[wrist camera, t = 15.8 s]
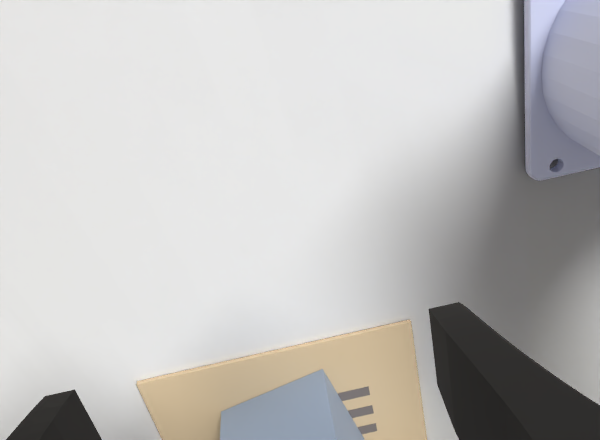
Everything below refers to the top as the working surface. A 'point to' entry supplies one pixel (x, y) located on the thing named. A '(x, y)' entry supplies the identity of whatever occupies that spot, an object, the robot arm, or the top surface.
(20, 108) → the top surface
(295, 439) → the powder blue cube
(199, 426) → the letter card
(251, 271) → the top surface
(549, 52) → the robot arm
